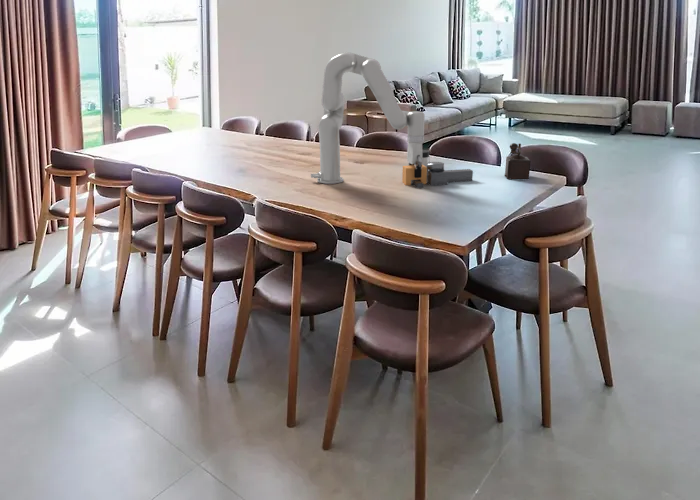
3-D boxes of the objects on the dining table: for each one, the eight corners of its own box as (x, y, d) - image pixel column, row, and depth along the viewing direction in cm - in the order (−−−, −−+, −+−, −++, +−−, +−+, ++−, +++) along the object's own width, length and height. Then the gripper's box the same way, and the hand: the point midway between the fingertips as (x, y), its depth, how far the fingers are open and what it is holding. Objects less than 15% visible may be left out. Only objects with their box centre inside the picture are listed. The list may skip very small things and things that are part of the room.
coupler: (417, 187, 289) (417, 168, 286) (406, 179, 305) (406, 160, 302) (477, 184, 294) (478, 165, 291) (463, 176, 311) (464, 158, 308)
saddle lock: (405, 185, 294) (406, 168, 291) (402, 182, 299) (402, 165, 297) (426, 184, 295) (426, 167, 293) (422, 181, 301) (422, 164, 298)
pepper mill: (503, 174, 313) (505, 138, 307) (525, 175, 312) (528, 138, 306) (507, 182, 298) (510, 144, 292) (531, 182, 297) (534, 144, 291)
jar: (427, 173, 318) (428, 149, 314) (431, 176, 311) (431, 152, 307) (410, 173, 317) (410, 149, 313) (413, 177, 310) (413, 152, 306)
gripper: (402, 136, 298) (402, 172, 303) (413, 142, 282) (412, 179, 287) (418, 135, 299) (417, 171, 305) (429, 141, 283) (428, 178, 289)
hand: (414, 175), depth 296 cm, fingers open, 9 cm apart
